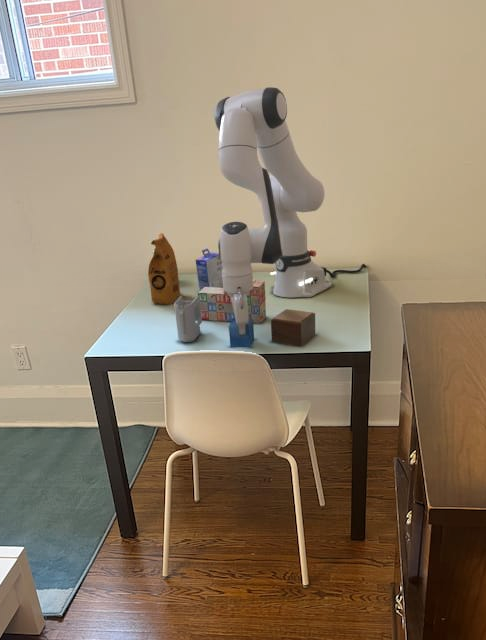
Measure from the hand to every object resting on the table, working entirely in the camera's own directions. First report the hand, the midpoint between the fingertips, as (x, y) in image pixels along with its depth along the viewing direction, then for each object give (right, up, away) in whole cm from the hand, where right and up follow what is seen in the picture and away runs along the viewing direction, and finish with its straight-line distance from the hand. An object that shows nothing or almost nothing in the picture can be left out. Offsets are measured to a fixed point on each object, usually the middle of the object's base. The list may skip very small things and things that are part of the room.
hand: (241, 328), depth 200 cm
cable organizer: (-16, 0, +10) cm, 19 cm away
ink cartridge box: (-11, +26, +50) cm, 57 cm away
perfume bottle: (0, -4, +3) cm, 5 cm away
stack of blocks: (-3, +8, +21) cm, 23 cm away
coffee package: (-28, +20, +43) cm, 55 cm away
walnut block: (+16, -2, +3) cm, 17 cm away
